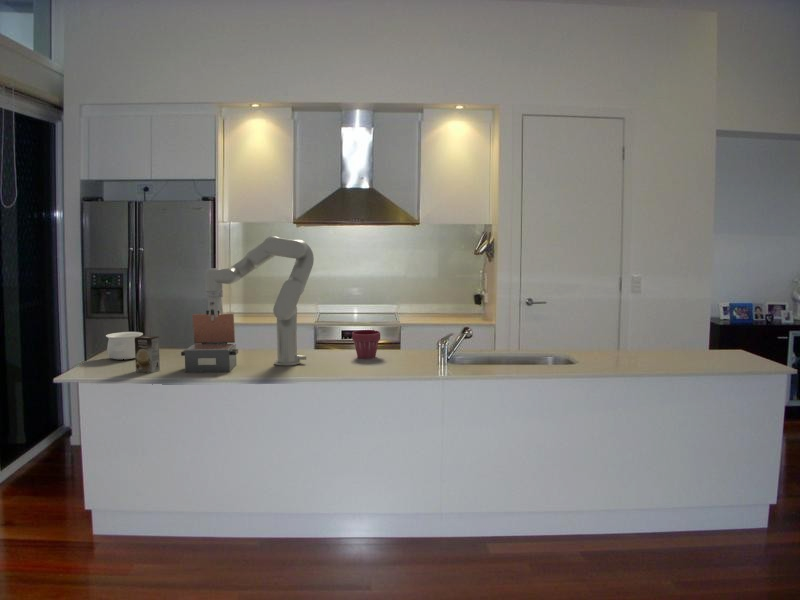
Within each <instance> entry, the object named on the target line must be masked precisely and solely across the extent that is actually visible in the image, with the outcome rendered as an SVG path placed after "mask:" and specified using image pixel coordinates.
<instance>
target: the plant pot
mask: <svg viewBox="0 0 800 600" xmlns="http://www.w3.org/2000/svg"><path fill="white" fill-rule="evenodd" d="M351 335H352V336H351V339H352V341H353V343H354V346H355V347H354V348H355V352H356V356H357V359H358V358H359V359H363V360H366V359H367V360H368V359H374V358H376V355H377V351H378V347H379V346H378V345H379V340H381V331H379V330H375V329H373V330H372V329H362V330H354V331H352V333H351Z"/></svg>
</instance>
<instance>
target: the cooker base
mask: <svg viewBox="0 0 800 600" xmlns="http://www.w3.org/2000/svg"><path fill="white" fill-rule="evenodd" d="M238 354H239V349H238V348H237V344H235V343H228V344H202V343H194V344H192V345H190V346H189V347H187V348H186V349H184V350H183V351H181V352H180V356H182V357H183V356H184V367H185V368H184V370H185V373H230V372H231V371H232V370H233V369H234V368H236V366H237V355H238Z"/></svg>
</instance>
